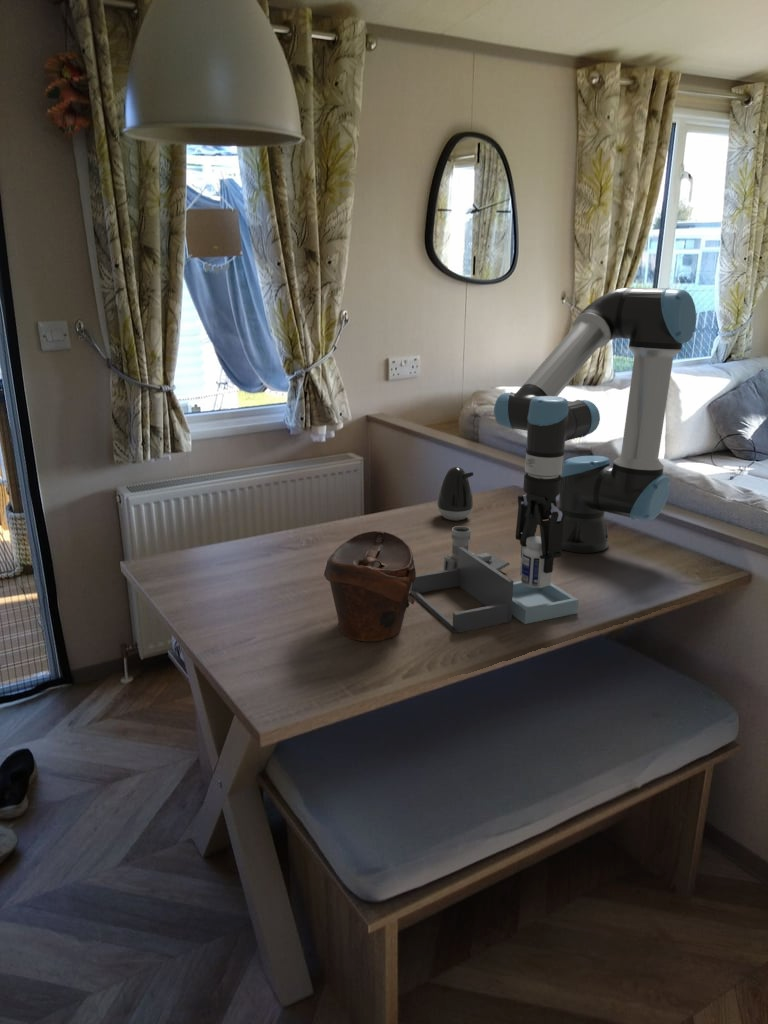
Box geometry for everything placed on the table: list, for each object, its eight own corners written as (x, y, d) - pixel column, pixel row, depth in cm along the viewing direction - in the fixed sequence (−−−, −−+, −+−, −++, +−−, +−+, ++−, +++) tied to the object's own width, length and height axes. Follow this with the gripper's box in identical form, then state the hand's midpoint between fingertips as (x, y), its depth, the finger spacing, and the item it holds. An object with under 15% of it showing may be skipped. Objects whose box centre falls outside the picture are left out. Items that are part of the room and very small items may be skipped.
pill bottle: (551, 581, 160) (554, 537, 157) (544, 590, 155) (548, 545, 152) (524, 576, 162) (527, 533, 159) (517, 586, 157) (520, 541, 154)
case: (346, 659, 138) (346, 568, 133) (312, 615, 155) (311, 534, 150) (432, 642, 145) (436, 556, 139) (390, 603, 162) (392, 524, 157)
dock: (409, 592, 167) (410, 555, 164) (461, 583, 172) (462, 546, 169) (454, 633, 148) (456, 591, 145) (510, 621, 153) (513, 581, 150)
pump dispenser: (462, 526, 210) (465, 473, 205) (430, 519, 215) (432, 468, 211) (479, 516, 218) (481, 465, 213) (447, 510, 223) (449, 460, 219)
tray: (491, 599, 164) (492, 586, 163) (541, 589, 168) (542, 577, 167) (524, 624, 152) (525, 610, 151) (577, 613, 157) (578, 599, 156)
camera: (438, 525, 174) (488, 516, 182) (436, 572, 178) (485, 561, 185) (461, 536, 167) (512, 526, 175) (458, 585, 171) (509, 573, 178)
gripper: (502, 465, 158) (496, 567, 165) (555, 487, 142) (546, 599, 149) (532, 461, 161) (525, 562, 168) (587, 483, 145) (577, 594, 152)
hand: (535, 579), depth 158 cm, fingers closed on pill bottle, 6 cm apart
